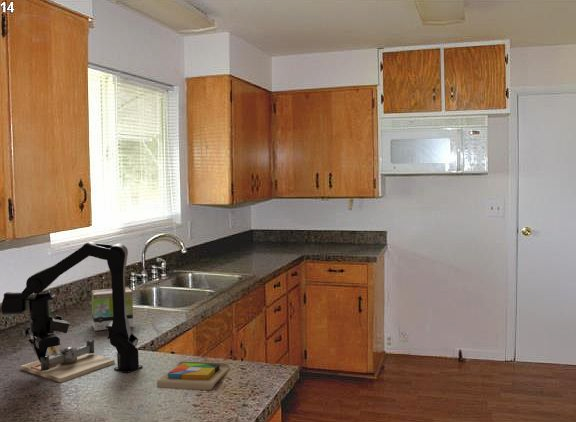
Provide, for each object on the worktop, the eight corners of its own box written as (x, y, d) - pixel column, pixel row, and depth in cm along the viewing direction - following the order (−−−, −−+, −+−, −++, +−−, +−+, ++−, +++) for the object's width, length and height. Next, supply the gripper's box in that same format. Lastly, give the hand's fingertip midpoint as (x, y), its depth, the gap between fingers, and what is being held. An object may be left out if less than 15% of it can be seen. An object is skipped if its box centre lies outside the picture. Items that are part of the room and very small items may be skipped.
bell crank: (98, 353, 196) (98, 340, 196) (47, 373, 178) (46, 358, 178) (75, 349, 201) (74, 335, 201) (23, 367, 184) (22, 352, 183)
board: (114, 363, 191) (114, 359, 191) (60, 382, 175) (60, 378, 174) (75, 352, 203) (74, 349, 203) (20, 369, 186) (20, 365, 186)
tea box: (94, 332, 228) (93, 294, 227) (92, 325, 237) (90, 289, 236) (133, 327, 234) (132, 290, 233) (130, 321, 243) (128, 286, 242)
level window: (57, 365, 186) (56, 364, 186) (41, 371, 181) (41, 369, 181) (46, 362, 189) (46, 361, 189) (31, 367, 184) (30, 366, 184)
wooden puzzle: (230, 369, 185) (230, 358, 185) (213, 391, 167) (213, 379, 167) (178, 367, 188) (177, 356, 188) (155, 389, 170) (155, 377, 169)
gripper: (76, 315, 178) (78, 364, 180) (56, 303, 193) (58, 348, 194) (38, 322, 171) (40, 373, 173) (20, 308, 186) (23, 356, 188)
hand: (41, 362), depth 182 cm, fingers closed
